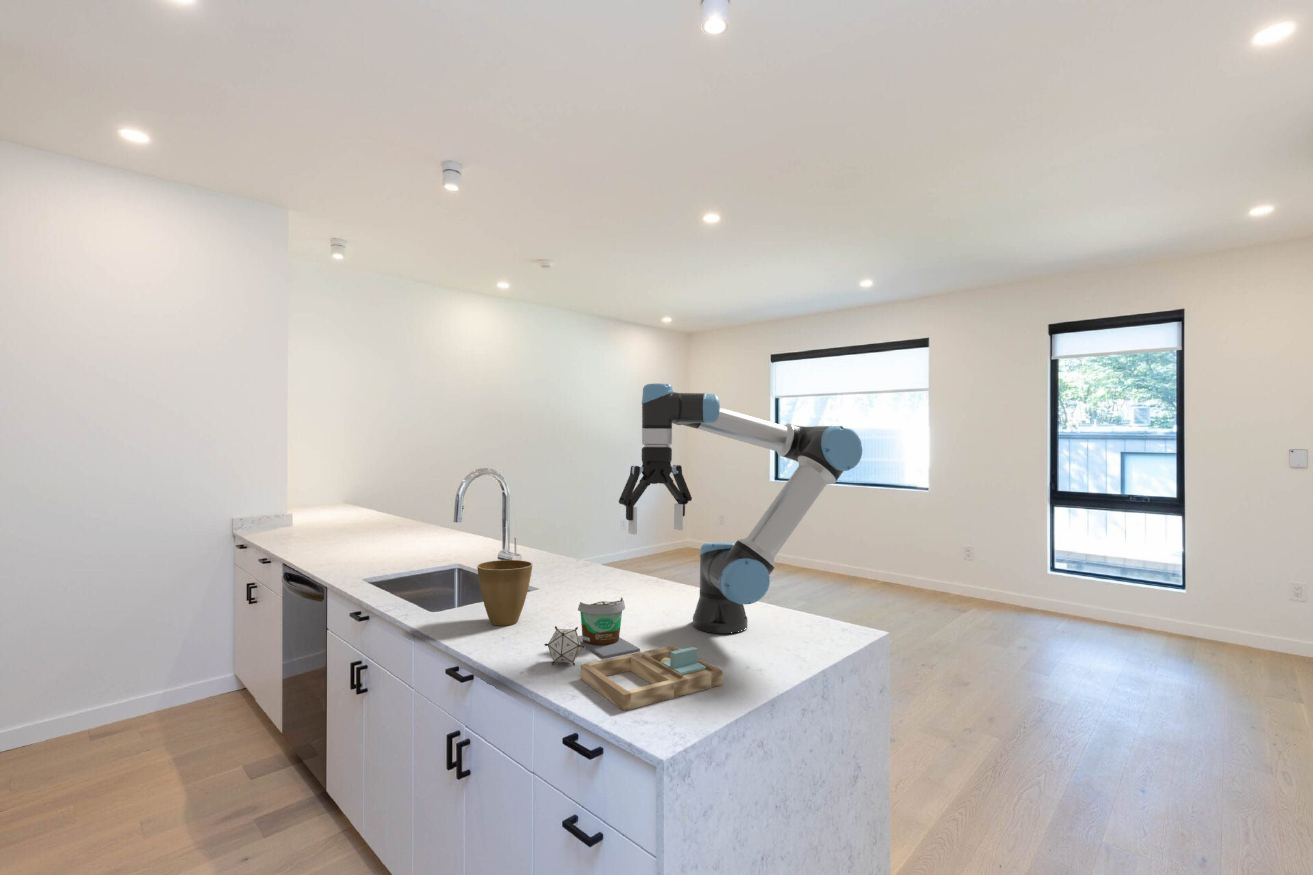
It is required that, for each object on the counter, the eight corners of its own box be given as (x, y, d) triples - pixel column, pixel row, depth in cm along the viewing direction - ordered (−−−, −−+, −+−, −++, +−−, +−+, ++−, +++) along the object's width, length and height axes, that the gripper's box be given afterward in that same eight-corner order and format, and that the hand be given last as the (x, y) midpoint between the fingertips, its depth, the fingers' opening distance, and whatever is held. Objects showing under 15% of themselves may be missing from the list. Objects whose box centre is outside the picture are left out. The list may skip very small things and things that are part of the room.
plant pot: (542, 620, 169) (543, 563, 169) (502, 633, 157) (504, 572, 157) (505, 611, 177) (506, 556, 177) (464, 623, 165) (465, 565, 165)
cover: (686, 658, 132) (687, 642, 132) (706, 668, 127) (706, 652, 127) (661, 664, 128) (662, 648, 129) (680, 675, 123) (681, 657, 123)
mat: (607, 632, 159) (607, 630, 159) (640, 651, 146) (640, 648, 146) (573, 639, 153) (573, 636, 153) (603, 658, 140) (603, 655, 140)
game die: (566, 682, 135) (561, 656, 129) (540, 661, 139) (534, 635, 133) (593, 654, 140) (590, 628, 134) (567, 635, 145) (563, 609, 139)
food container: (586, 650, 144) (587, 608, 144) (577, 642, 149) (577, 601, 149) (632, 642, 150) (633, 602, 150) (622, 635, 155) (623, 596, 155)
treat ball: (667, 668, 135) (668, 654, 135) (675, 672, 132) (676, 658, 132) (656, 670, 133) (657, 657, 133) (664, 675, 131) (664, 661, 131)
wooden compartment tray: (672, 658, 141) (673, 642, 141) (722, 684, 126) (722, 667, 126) (580, 678, 128) (580, 661, 128) (623, 710, 113) (624, 691, 113)
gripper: (688, 446, 160) (687, 526, 160) (605, 445, 146) (604, 533, 146) (705, 446, 153) (705, 529, 153) (620, 446, 140) (620, 537, 140)
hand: (656, 531), depth 150 cm, fingers open, 13 cm apart
